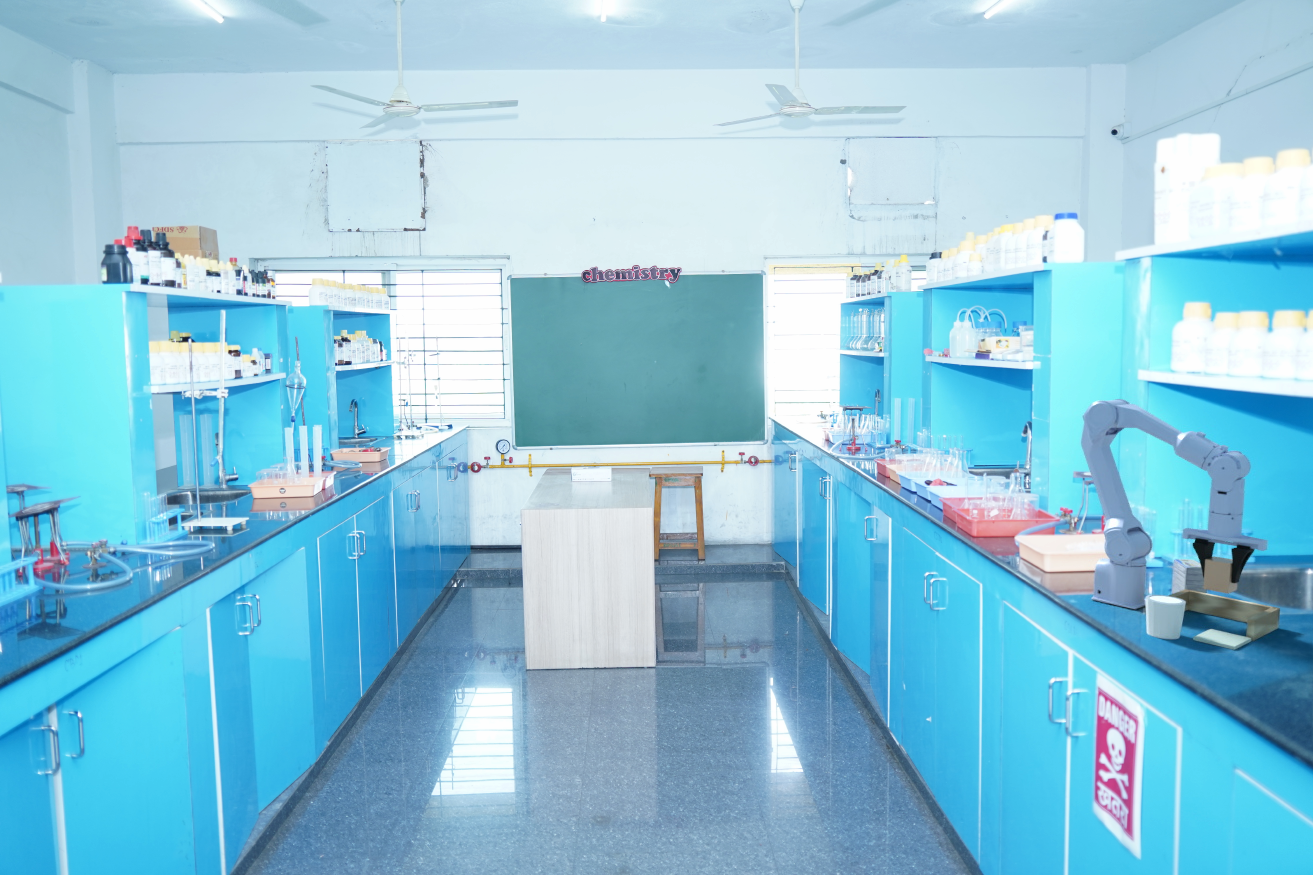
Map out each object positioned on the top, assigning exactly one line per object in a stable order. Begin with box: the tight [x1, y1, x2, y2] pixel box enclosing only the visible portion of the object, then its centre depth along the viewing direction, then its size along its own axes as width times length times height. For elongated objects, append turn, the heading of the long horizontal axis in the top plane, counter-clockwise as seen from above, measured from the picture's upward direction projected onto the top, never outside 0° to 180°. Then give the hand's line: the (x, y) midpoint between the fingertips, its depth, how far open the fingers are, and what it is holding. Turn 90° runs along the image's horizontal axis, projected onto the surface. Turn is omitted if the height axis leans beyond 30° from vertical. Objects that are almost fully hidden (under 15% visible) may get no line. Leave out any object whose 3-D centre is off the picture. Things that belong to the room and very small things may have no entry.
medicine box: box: [1171, 558, 1208, 594], centre depth 198 cm, size 8×4×9 cm, turn 168°
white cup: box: [1144, 594, 1186, 640], centre depth 176 cm, size 7×7×7 cm
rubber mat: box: [1192, 628, 1252, 651], centre depth 172 cm, size 7×8×1 cm
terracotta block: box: [1203, 556, 1238, 595], centre depth 182 cm, size 4×4×6 cm
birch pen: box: [1168, 589, 1281, 642], centre depth 183 cm, size 17×13×4 cm
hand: (1220, 579), depth 182 cm, fingers closed on terracotta block, 4 cm apart
